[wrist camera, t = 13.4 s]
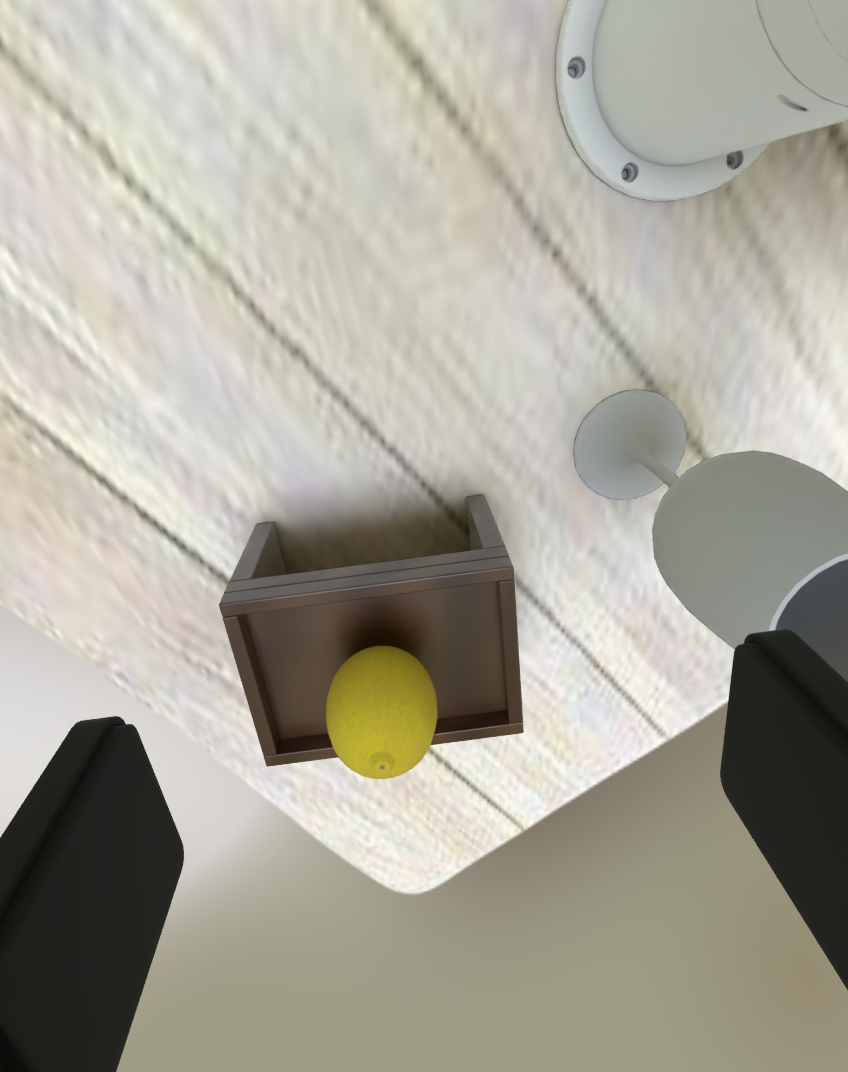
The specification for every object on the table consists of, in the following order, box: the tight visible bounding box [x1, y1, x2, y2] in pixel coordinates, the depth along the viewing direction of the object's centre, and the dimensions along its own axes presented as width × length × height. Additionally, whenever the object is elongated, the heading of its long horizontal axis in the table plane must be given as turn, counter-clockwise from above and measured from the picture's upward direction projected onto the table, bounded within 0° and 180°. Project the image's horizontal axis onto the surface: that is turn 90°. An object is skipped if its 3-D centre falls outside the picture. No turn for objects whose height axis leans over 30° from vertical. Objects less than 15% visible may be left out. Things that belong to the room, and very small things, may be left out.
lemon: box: [326, 646, 437, 779], centre depth 31 cm, size 6×6×8 cm
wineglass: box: [573, 389, 848, 682], centre depth 30 cm, size 8×8×21 cm
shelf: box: [219, 495, 524, 766], centre depth 38 cm, size 15×11×10 cm
